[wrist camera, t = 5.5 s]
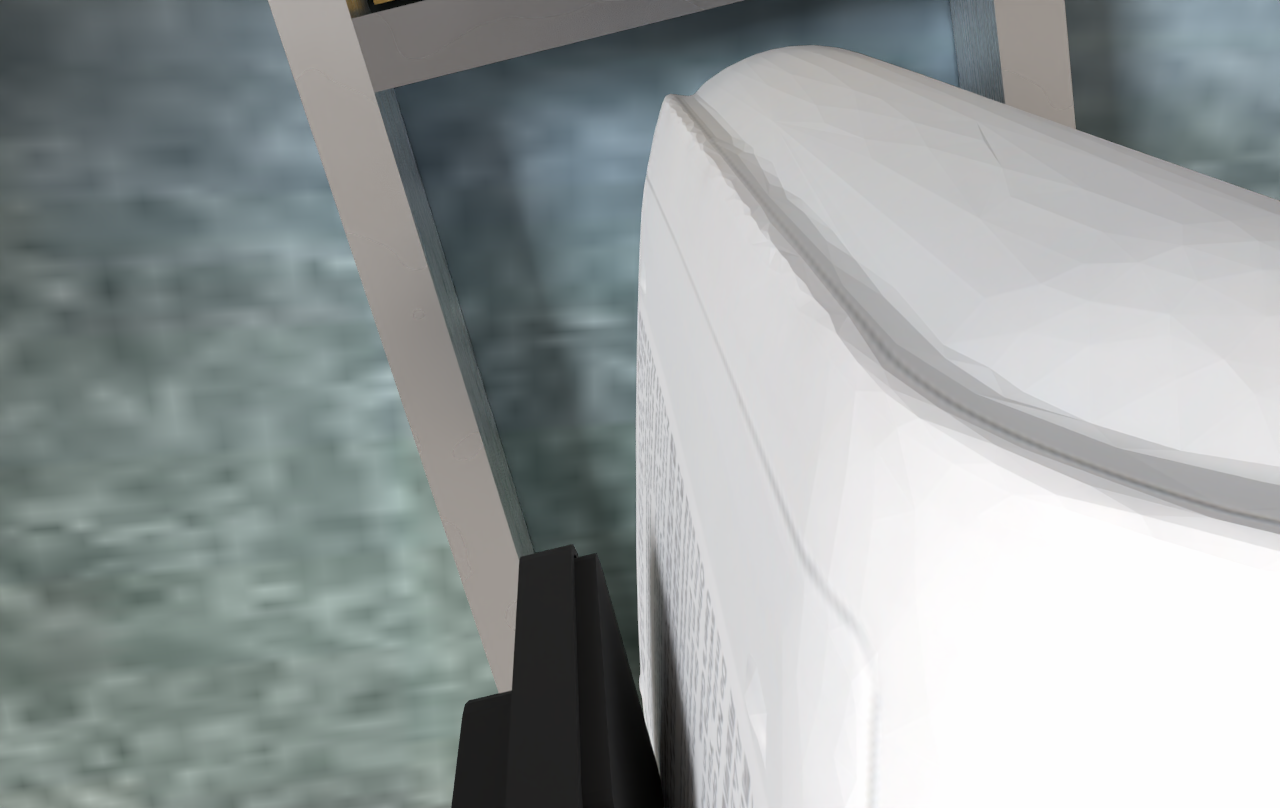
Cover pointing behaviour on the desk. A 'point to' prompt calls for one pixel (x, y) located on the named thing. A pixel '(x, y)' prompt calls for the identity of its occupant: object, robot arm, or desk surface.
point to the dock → (410, 246)
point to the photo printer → (950, 455)
